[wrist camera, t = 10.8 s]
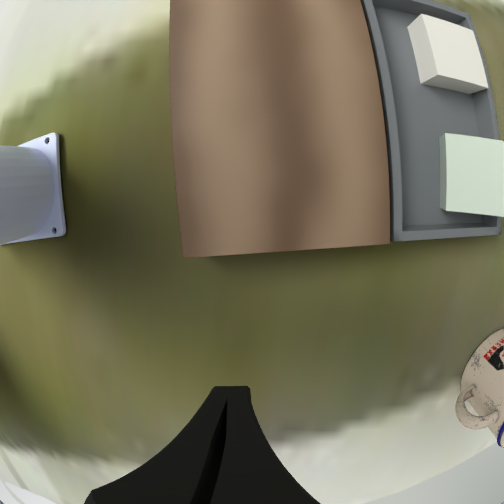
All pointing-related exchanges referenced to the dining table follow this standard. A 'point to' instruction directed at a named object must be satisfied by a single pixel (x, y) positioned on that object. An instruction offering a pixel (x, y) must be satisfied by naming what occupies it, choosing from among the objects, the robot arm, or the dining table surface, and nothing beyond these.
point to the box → (423, 123)
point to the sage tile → (471, 174)
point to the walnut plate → (276, 127)
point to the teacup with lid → (484, 387)
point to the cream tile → (447, 55)
